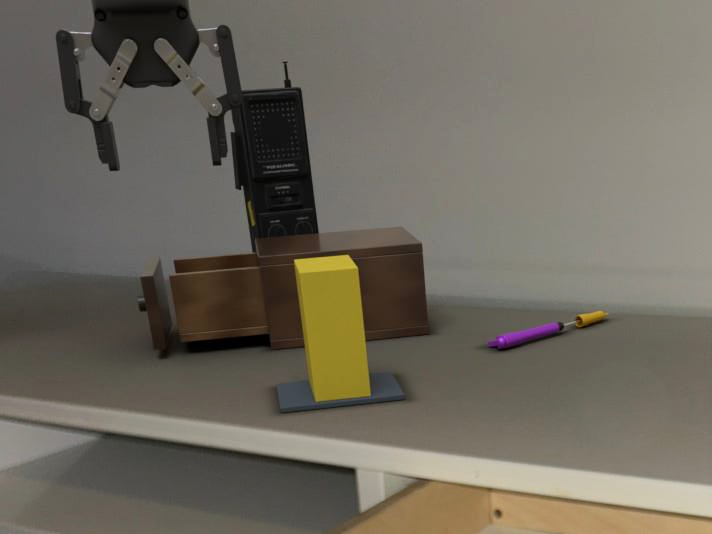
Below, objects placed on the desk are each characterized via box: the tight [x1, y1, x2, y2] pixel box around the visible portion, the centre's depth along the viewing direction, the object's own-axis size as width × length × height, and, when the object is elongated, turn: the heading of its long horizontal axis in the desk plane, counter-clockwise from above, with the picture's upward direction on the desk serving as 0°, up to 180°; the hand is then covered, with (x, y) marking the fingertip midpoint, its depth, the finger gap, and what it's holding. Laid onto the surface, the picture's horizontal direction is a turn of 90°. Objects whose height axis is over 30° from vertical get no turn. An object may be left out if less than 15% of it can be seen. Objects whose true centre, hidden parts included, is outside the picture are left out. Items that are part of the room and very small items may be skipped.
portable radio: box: [230, 61, 320, 252], centre depth 116 cm, size 8×6×25 cm
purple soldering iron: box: [487, 310, 610, 350], centre depth 105 cm, size 3×1×16 cm
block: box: [294, 255, 371, 402], centre depth 87 cm, size 4×7×10 cm, turn 12°
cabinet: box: [255, 226, 430, 351], centre depth 110 cm, size 16×14×9 cm
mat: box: [275, 371, 406, 414], centre depth 89 cm, size 10×8×1 cm
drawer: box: [136, 251, 269, 351], centre depth 108 cm, size 16×12×7 cm
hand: (166, 167), depth 91 cm, fingers open, 8 cm apart
